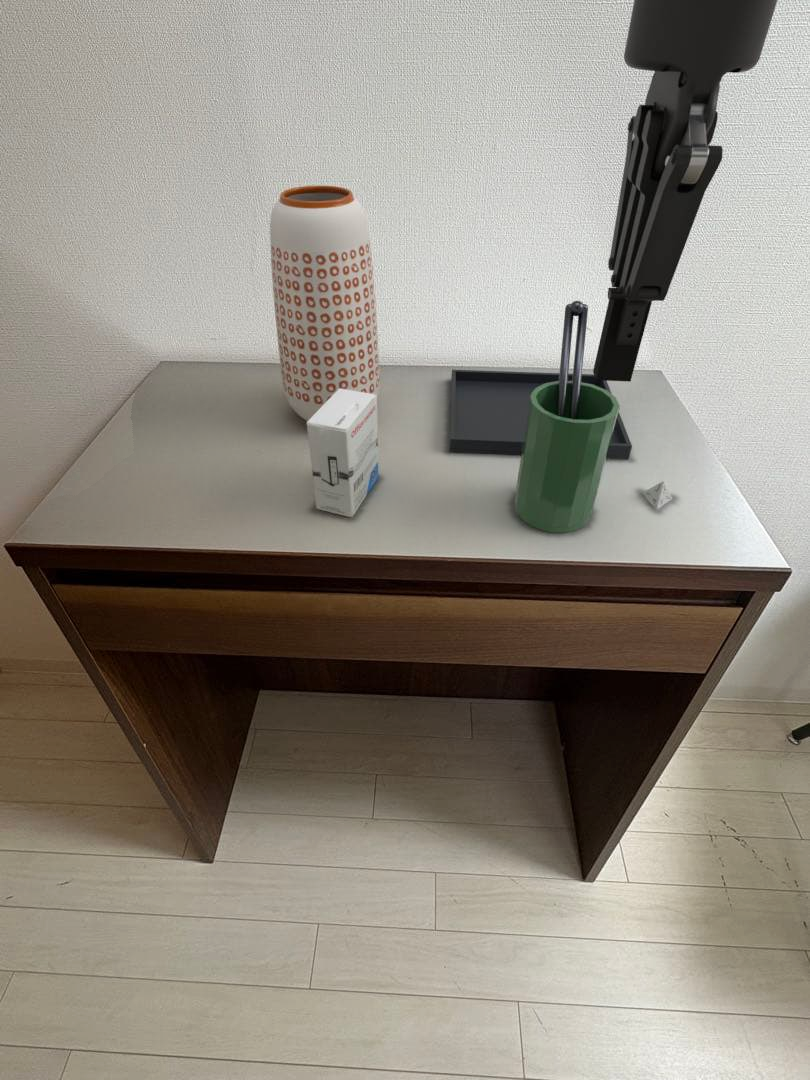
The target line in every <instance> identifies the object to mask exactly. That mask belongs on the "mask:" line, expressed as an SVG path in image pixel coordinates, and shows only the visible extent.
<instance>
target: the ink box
mask: <svg viewBox="0 0 810 1080" xmlns="http://www.w3.org/2000/svg"><path fill="white" fill-rule="evenodd" d="M378 425H379V423H378V395H376V394H370V393H365V392H359V391H354V390H348V389H342V388H340V389H338V390H337V391H336V392H335V393H334V394H333V395H332V397H331V398H330V399H329V400H328V401H327V402H326V403H325V404H324V405H323V406H322V407H321V408H320V409H319V410H318V411H317V412H316V413H315V414H314V415H313V416H312V417H311V418H310V419H309V420H308V421H306V429H307V438H308V447H309V448H308V449H309V456H310V463H311V472H312V482H313V491H314V492H313V493H314V502H315V508H316V510H320V511H323V512H328V513H331V514H335V515H340V516H344V517H347V518H353V517H354V515H355V514H356V513H357V511H358V510H359V508H360V507H361V505H362V503H363V501H364V500H365V499H366V497H367V496H368V494H369V493H370V491H371V490H372V488H373V486H374V485H375V484H376V482H377V480H378V479H379V433H378V431H379V427H378Z"/></svg>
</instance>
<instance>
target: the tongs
mask: <svg viewBox="0 0 810 1080" xmlns="http://www.w3.org/2000/svg"><path fill="white" fill-rule="evenodd" d="M588 313H589V305H588V304H587V303H583V302H582V301H581V300H574V301H572V302H571V303H567V304H566V305H565V308H564V318H563V320H564V321H563V329H562V341H561V352H560V362H559V373H560V374H559V385H558V396H557V408H556V415H557V416H560V417H564V415H565V404H566V393H567V382H568V374H569V370H570V369H569V368H570V359H571V347H572V337H573V326H574V317H577V326H576V338H575V346H574V347H575V348H574V357H573V358H574V359H573V370H572V374H573V379H572V390H571V400H570V411H569V419H573V420H577V418H578V408H579V397H580V387H581V377H582V374H583V365H584V356H585V355H584V354H585V346H586V345H585V344H586V336H587V324H588V316H589V315H588Z"/></svg>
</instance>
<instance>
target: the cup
mask: <svg viewBox="0 0 810 1080" xmlns="http://www.w3.org/2000/svg"><path fill="white" fill-rule="evenodd" d="M558 385H559V381H555V382H550V383H545V384H543V385H541V386H539V387H537V388H535V389H534V391H533V392H532V394H531V396H530V401H529V408H528V414H527V421H526V427H525V434H524V441H523V447H522V454H521V455H520V459H519V460H520V461H519V466H518V473H517V480H516V487H515V494H514V499H515V500H514V509H515V512H516V514H517V516H518V517H519V518H520V519H521V520H522V521H523V522H524V523H526V524H528V525H529V526H531V527H532V528H535V529H538V530H540V531H543V532H550V533H570V532H574V531H577V530H580V529H581V528H584V526H586V525H587V524H588V523H589V521H590V519H591V517H592V512H593V510H594V508H595V507H594V506H595V503H596V499H597V494H598V492H599V487H600V483H601V479H602V476H603V472H604V467H605V464H606V460H607V458H606V457H607V453H608V449H609V445H610V441H611V438H612V434H613V430H614V426H615V422H616V418H617V415H618V411H619V410H620V403H619V401H618V399H617V397H616V396H615V395H613V393H612V392H611V393H612V394H611V393H609V392H608V391H607V390H605V389H602V388H600V387H597V386H595V385H592V384H588V383H583V382H581V387H580V397H579V408H578V418H577V420H573V419H569V411H570V400H571V390H572V381H568V382H567V393H566V404H565V415H564V417H560V416H557V415H556V408H557V396H558Z"/></svg>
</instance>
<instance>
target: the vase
mask: <svg viewBox="0 0 810 1080" xmlns="http://www.w3.org/2000/svg"><path fill="white" fill-rule="evenodd" d="M364 210H365V209H364V207H363V206H362V204H361V202H360V201H359V200H358V199H357V198H356V197H355V196H354V193H353V192H352V191H351V190H350V189H348V188H345V187H341V186H334V185H304V186H296V187H292V188H288V189H285V190H283V191H282V192H281V193H280V195H279V198H278V200H277V201H276V202H275V203H274V205H273V207H272V210H271V214H270V221H269V237H270V238H269V240H270V241H269V243H270V264H271V279H272V289H273V290H272V292H273V304H274V315H275V316H274V317H275V326H276V337H277V346H278V355H279V364H280V373H281V374H280V375H281V381H282V388H283V391H284V395H285V398H286V400H287V402H288V403H289V406H290V407H291V408H292V410H294V412H295V413H296V414H297V415H298V416H299V417H300V418H302V419H303V420H305V422H307V421H308V420H309V419H310V418H311V417H312V416H313V415H314V414H315V413H316V412H317V411H318V410H319V409H320V408H321V407H322V406H323V405H324V404H325V403H326V402H327V401H328V400H329V399H330V398H331V397H332V395H333V394H334V393H335V392H336V391H337V390H338V389H340V388H342V389H348V390H354V391H359V392H365V393H370V394H376V395H377V396H378V395H379V390H380V381H381V375H380V355H379V354H380V353H379V337H378V336H379V335H378V320H377V319H378V318H377V303H376V292H375V278H374V268H373V267H374V266H373V259H372V258H373V257H372V250H371V242H370V235H369V234H370V233H369V228H368V227H369V226H368V222H367V217H366V213H365V211H364Z"/></svg>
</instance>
